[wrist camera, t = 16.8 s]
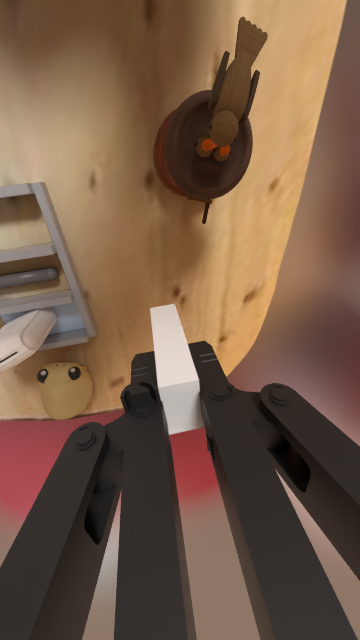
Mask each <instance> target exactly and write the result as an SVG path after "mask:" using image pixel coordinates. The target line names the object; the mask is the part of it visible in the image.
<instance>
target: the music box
mask: <svg viewBox="0 0 360 640" xmlns="http://www.w3.org/2000/svg"><path fill="white" fill-rule="evenodd" d="M267 37H268V35H267V33H266V32H262V30H261V29H260V28H259V29H257V27H256V25H252V24H251V22H250V21H246V19H245V18H244V17H241V18H240V20H239V24H238V33H237V42H236V50H235V59H234V60H233V61H232V63H231V64H230V66H229V67H228V69H227V70H226V67H227V63H228V59H229V54H230V53H229V52H227V51H225V52H224V55H223V58H222V61H221V64H220V67H219V70H218V73H217V76H216V79H215V82H214V85H213V88H212V90H205V91H201V92H198V93H196V94H194V95H192V96H190V97H189V98H187V99H186V100H185V101H184V102H183V103H182V104H181V105H180V106H179V107H178V108H177V109H176V110H174V111H173V112H172V113H170V114H169V115H168V116H167V118H166V119H165V120H164V122H163V123H162V125H161V127H160V129H159V131H158V134H157V137H156V140H155V144H154V163H155V167H156V171H157V173H158V175H159V177H160V179H161V181H162V182H163V183H164V185H165V186H166V187H167V188H168V189H170V190H171V191H172V192H174V193H176V194H179V195H182V196H187V199H189V200H196V201H202V202H206V205H205V210H204V215H203V220H202V223H203V224H205V223H206V219H207V214H208V209H209V204H210V203H212V200H210V199H214V198H218V197H221V196H223V195H225V194H226V193H228V192H229V191H231V190H232V189H233V188H234V187H235V186H236V185H237V184H238V183H239V181H240V180H241V179H242V177H243V176H244V174H245V172H246V170H247V167H248V165H249V162H250V158H251V154H252V144H253V139H252V130H251V125H250V122H249V119H248V115H249V112H250V109H251V106H252V103H253V99H254V96H255V92H256V88H257V84H258V80H259V75H260V72H259V71H257V70H256V71H255V72H254V75H253V77H252V79H251V66H252V64H253V63H254V61H255V59H256V57H257V56H258V54H259V52H260V50H261V49H262V47H263V45H264V43H265V42H266V40H267ZM225 71H226V72H225Z"/></svg>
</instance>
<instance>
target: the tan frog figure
mask: <svg viewBox="0 0 360 640" xmlns="http://www.w3.org/2000/svg"><path fill="white" fill-rule="evenodd" d="M37 379H38V381H39V382H40V393H41V399H42V403H43V406H44V409H45V411H46V413H47V414H48V415H49V416H50V417H51V418H53V419H56V420H65V419H69V418H72V417H74V416H76V415H78V414H79V413H81V412H82V411H83V410H84V409H85V408H86V407H87V405H88V404H89V402H90V400H91V397H92V394H93V382H92V379H91V376H90V374H89V373H88V368H87V367H86V366H82V367H81V366H80V365H79V364H77V363H72V362H54V363H49V364H47V365H45V366H44V367H43V368H42V369H41V370H40V371H39V373H38V375H37Z"/></svg>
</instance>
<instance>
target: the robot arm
mask: <svg viewBox="0 0 360 640" xmlns="http://www.w3.org/2000/svg"><path fill="white" fill-rule="evenodd" d="M150 312H151V322H152V332H153V342H154V351H151V352H146V353H141V354H136V355H135V357H134V359H133V360H132V365H131V370H132V371H131V384H129V385H128V386H126V387H125V389H124V390H123V391H122V393H121V396H120V398H121V401H122V404H123V407H124V410H125V413H124V414H123V415H122V416H121V417H120V418H118V419H116V420H115V421H113V422H111V423H109V424H107V425H105V426H102V425H101V424H100V423H96V422H90V423H86V424H84V425H82V426H80V427H78V428H77V429H76V430H74V431H73V432H72V434H71V435H70V436H69V438H68V439H67V441H66V443H65V445H64V446H63V448H62V450H61V452H60V454H59V456H58V458H57V460H56V462H55V464H54V466H53V468H52V470H51V471H50V473H49V475H48V477H47V479H46V481H45V483H44V485H43V487H42V489H41V491H40V492H39V494H38V496H37V498H36V500H35V502H34V504H33V506H32V508H31V510H30V512H29V514H28V516H27V517H26V520H25V521H24V523H23V525H22V527H21V529H20V531H19V533H18V535H17V537H16V538H15V540H14V543H13V544H12V546H11V548H10V550H9V552H8V554H7V556H6V558H5V560H4V561H3V563H2V565H1V567H0V640H82V637H83V633H84V630H85V626H86V621H87V618H88V614H89V611H90V607H91V603H92V599H93V595H94V591H95V587H96V584H97V580H98V576H99V573H100V569H101V565H102V561H103V557H104V553H105V550H106V546H107V542H108V538H109V534H110V530H111V527H112V523H113V519H114V515H115V511H116V508H117V504H118V500H119V496H120V492H121V489H122V495H121V513H120V532H119V551H118V571H117V590H116V609H115V610H116V611H115V628H114V640H196V631H195V624H194V616H193V610H192V609H193V608H192V601H191V594H190V585H189V578H188V571H187V563H186V555H185V547H184V540H183V532H182V525H181V517H180V509H179V502H178V494H177V486H176V479H175V472H174V464H173V456H172V449H171V444H170V439H169V435H170V434H174V433H179V432H184V431H188V430H193V429H197V428H202V427H205V430H206V437H207V447H208V451H210V454H211V457H212V461H213V465H214V469H215V472H216V476H217V480H218V483H219V487H220V491H221V495H222V498H223V502H224V505H225V509H226V513H227V517H228V521H229V524H230V528H231V531H232V535H233V539H234V543H235V547H236V550H237V554H238V557H239V561H240V565H241V569H242V572H243V576H244V580H245V584H246V587H247V591H248V595H249V598H250V602H251V606H252V610H253V613H254V617H255V621H256V624H257V628H258V631H259V635H260V639H261V640H358V639H357V637H356V635H355V633H354V631H353V629H352V627H351V625H350V623H349V621H348V619H347V617H346V615H345V612H344V610H343V608H342V606H341V604H340V602H339V600H338V598H337V596H336V594H335V592H334V590H333V588H332V586H331V584H330V581H329V579H328V577H327V575H326V573H325V571H324V569H323V567H322V565H321V563H320V561H319V559H318V557H317V555H316V553H315V551H314V548H313V546H312V544H311V542H310V541H309V538H308V536H307V534H306V532H305V530H304V528H303V526H302V524H301V522H300V520H299V518H298V516H297V513H296V511H295V509H294V508H293V505H292V503H291V501H290V499H289V497H288V495H287V493H286V491H285V489H284V487H283V485H282V483H281V480H280V479H279V476H278V474H277V472H278V473H279V474H280V476H281V477H282V478H283V480H284V481H285V482H286V484H287V485H288V486H289V488H290V489H291V490H292V491H293V493H294V494H295V496H296V497H297V498H298V500H299V501H300V502H301V503H302V505H303V506H304V507H305V509H306V510H307V511H308V513H309V514H310V515H311V517H312V518H313V519H314V521H315V522H316V523H317V525H318V526H319V527H320V529H321V530H322V531H323V533H324V534H325V535H326V537H327V538H328V539H329V540H330V542H331V543H332V545H333V546H334V547H335V549H336V550H337V551H338V553H339V554H340V555H341V556H342V558H343V559H344V561H345V562H346V563H347V564H348V566H349V567H350V568H351V570H352V571H353V572H354V574H355V575H356V576H357V578H358V579H359V580H360V446H358V445H357V444H356V443H355V442H354V441H352V440H351V439H350V438H349V437H348V436H347V435H346V434H344V433H343V432H342V431H341V430H340V429H339V428H338V427H336V426H335V425H334V424H333V423H332V422H331V421H329V420H328V419H327V418H326V417H325V416H323V415H322V414H321V413H320V412H319V411H318V410H316V409H315V408H314V407H313V406H312V405H311V404H310V403H308V402H307V401H306V400H305V399H304V398H302V396H300V395H299V394H298V393H297V392H296V391H294V390H293V389H292V388H290V387H288V386H286V385H283V384H277V383H272V384H268V385H266V386H264V387H263V388H262V390H261V392H246V391H241V390H238V389H236V388H235V387H234V386H233V385H231V384H230V383H229V382H228V380H227V378H226V376H225V374H224V372H223V370H222V367H221V365H220V363H219V361H218V360H217V357H216V355H215V352H214V350H213V348H212V346H211V345H210V344H208V343H207V342H206V341H200V342H195V343H190V344H187V341H186V338H185V335H184V331H183V328H182V325H181V322H180V319H179V316H178V313H177V309H176V306H175V304H170V305H164V306H159V307H153V308H150ZM275 469H276V470H277V472H276V470H275Z"/></svg>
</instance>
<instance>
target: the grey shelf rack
mask: <svg viewBox="0 0 360 640" xmlns="http://www.w3.org/2000/svg"><path fill="white" fill-rule="evenodd" d="M29 194H35V196H36V198H37V201H38V204H39V206H40V209H41V212H42V214H43V217H44V220H45V222H46V225H47V227H48V230H49V233H50V235H51V238H52V241H53V243H47V244H40V245H33V246H27V247H20V248H13V249H7V250H0V263H1V262H8V261H14V260H21V259H27V258H34V257H40V256H47V255H53V254H55V253H56V252H57V254H58V257H59V259H60V262H61V264H62V267H63V270H64V272H65V275H66V278H67V280H68V283H69V286H70V288H71V289H70V290H64V291H58V292H52V293H46V294H40V295H34V296H28V297H22V298H16V299H10V300H4V301H0V316H1V318H2V320H3V321H4V323H5V325H6V324H7V323H9V322H10V321H12V320H14V319H15V318H17V317H19V316H21V315H22V314H24V313H26V312H28V311H30V310H33V309H39V308H45V307H51V308H52V309H53V310H54V311H55V313H56V318H57V321H56V322H55V324H54V326H53V327H52V329H51V330H50V332H49V334H48V335H47V337H46V338H45V340H44V341H43V343H42V345H41V346H40V348H39V349H38V350H37V351H42V350H48V349H53V348H59V347H64V346H70V345H75V344H80V343H86V342H88V340H89V338H91V337H96V333H97V329H96V327H95V324H94V321H93V318H92V315H91V312H90V310H89V307H88V304H87V301H86V298H85V295H84V293H83V290H82V287H81V284H80V281H79V278H78V275H77V273H76V270H75V267H74V264H73V261H72V258H71V256H70V253H69V250H68V247H67V244H66V241H65V239H64V236H63V233H62V230H61V227H60V224H59V222H58V219H57V216H56V213H55V210H54V207H53V205H52V202H51V199H50V196H49V193H48V190H47V187H46V185H45V183H43V182H38V183H24V184H17V185H9V186H2V187H0V198H7V197H15V196H22V195H29ZM57 277H58V272H57V271H56V270H55V269H54V268H46V269H40V270H34V271H27V272H21V273H15V274H8V275H2V276H0V289H1V288H7V287H13V286H19V285H25V284H31V283H38V282H44V281H50V280H55V279H56V278H57ZM37 351H36V352H37Z"/></svg>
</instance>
